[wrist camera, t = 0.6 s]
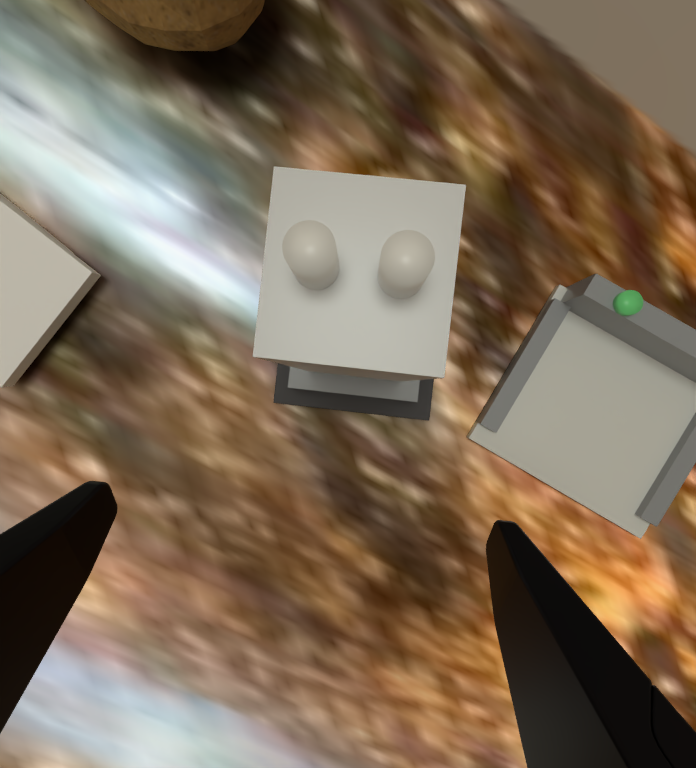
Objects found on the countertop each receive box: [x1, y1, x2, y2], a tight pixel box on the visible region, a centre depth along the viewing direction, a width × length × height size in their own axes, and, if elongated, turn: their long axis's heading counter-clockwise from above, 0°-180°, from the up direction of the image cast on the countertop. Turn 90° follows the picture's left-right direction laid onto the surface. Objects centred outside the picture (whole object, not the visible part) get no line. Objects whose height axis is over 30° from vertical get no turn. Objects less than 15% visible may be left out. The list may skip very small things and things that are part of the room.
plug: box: [253, 167, 466, 402], centre depth 16 cm, size 7×7×14 cm
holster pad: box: [274, 363, 434, 420], centre depth 23 cm, size 9×9×1 cm
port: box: [467, 274, 696, 539], centre depth 21 cm, size 10×11×3 cm
